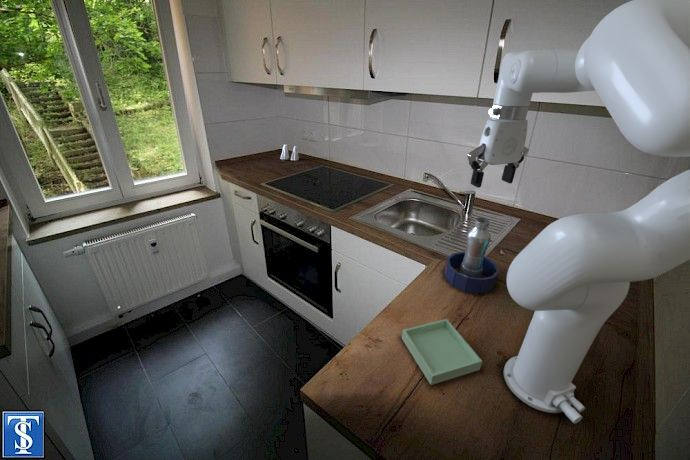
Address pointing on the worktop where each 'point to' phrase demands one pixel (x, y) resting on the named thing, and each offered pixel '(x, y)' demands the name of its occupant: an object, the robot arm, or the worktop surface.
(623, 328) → the worktop surface
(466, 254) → the plastic bottle
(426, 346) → the tray
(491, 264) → the blue ring
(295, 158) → the shaker set
